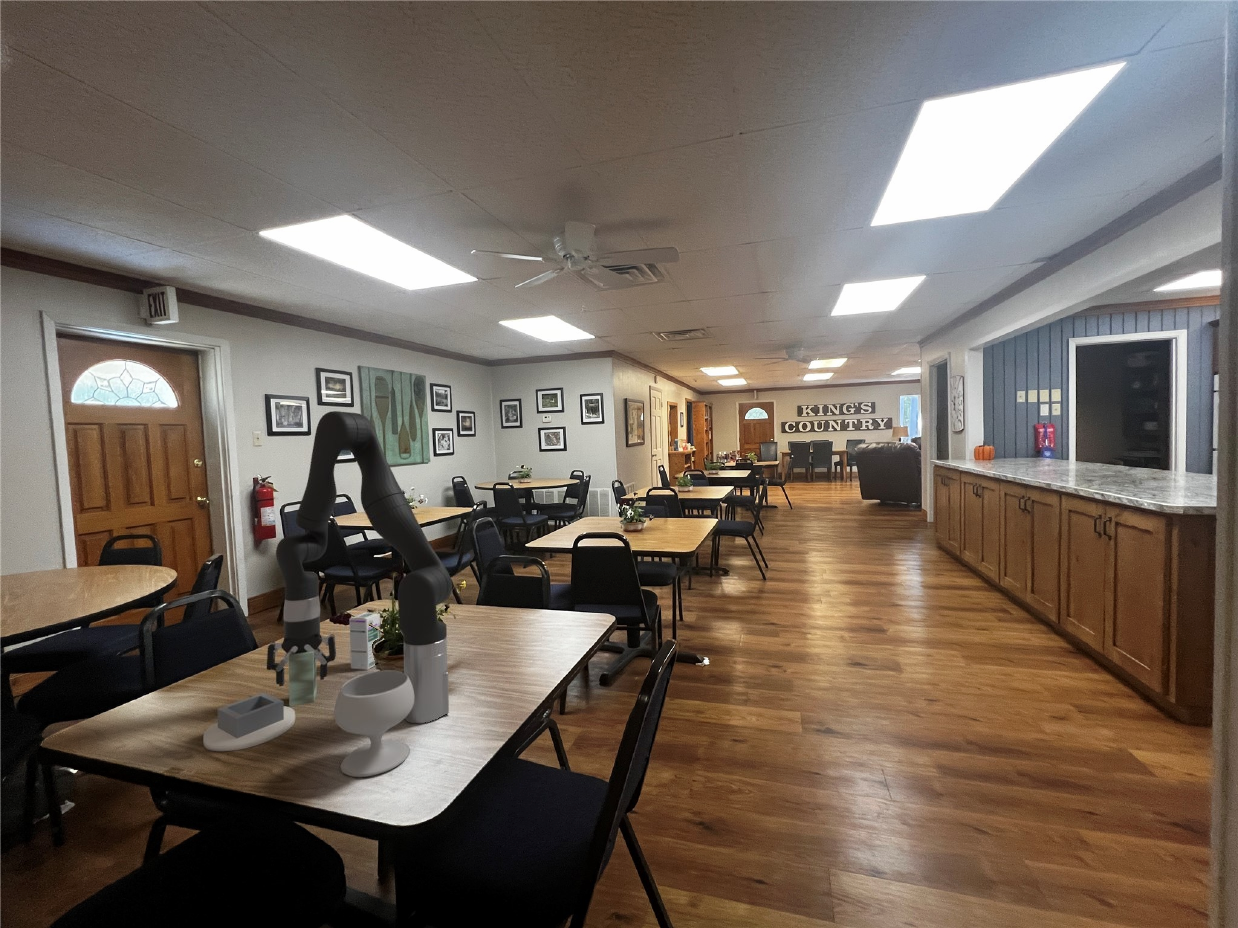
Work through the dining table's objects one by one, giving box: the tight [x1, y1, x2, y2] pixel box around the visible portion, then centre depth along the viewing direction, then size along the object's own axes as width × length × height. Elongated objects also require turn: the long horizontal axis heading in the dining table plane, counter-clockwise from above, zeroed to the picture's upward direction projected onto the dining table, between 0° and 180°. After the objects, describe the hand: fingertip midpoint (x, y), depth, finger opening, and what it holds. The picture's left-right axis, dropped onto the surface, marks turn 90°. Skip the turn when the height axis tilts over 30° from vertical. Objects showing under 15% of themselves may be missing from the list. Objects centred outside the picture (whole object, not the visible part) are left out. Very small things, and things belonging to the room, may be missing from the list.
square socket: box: [202, 692, 296, 752], centre depth 109 cm, size 16×16×6 cm
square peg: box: [288, 651, 318, 707], centre depth 123 cm, size 5×5×12 cm
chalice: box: [333, 669, 414, 778], centre depth 97 cm, size 14×14×15 cm
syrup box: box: [349, 611, 381, 671], centre depth 144 cm, size 6×6×14 cm
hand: (302, 681), depth 123 cm, fingers open, 8 cm apart
